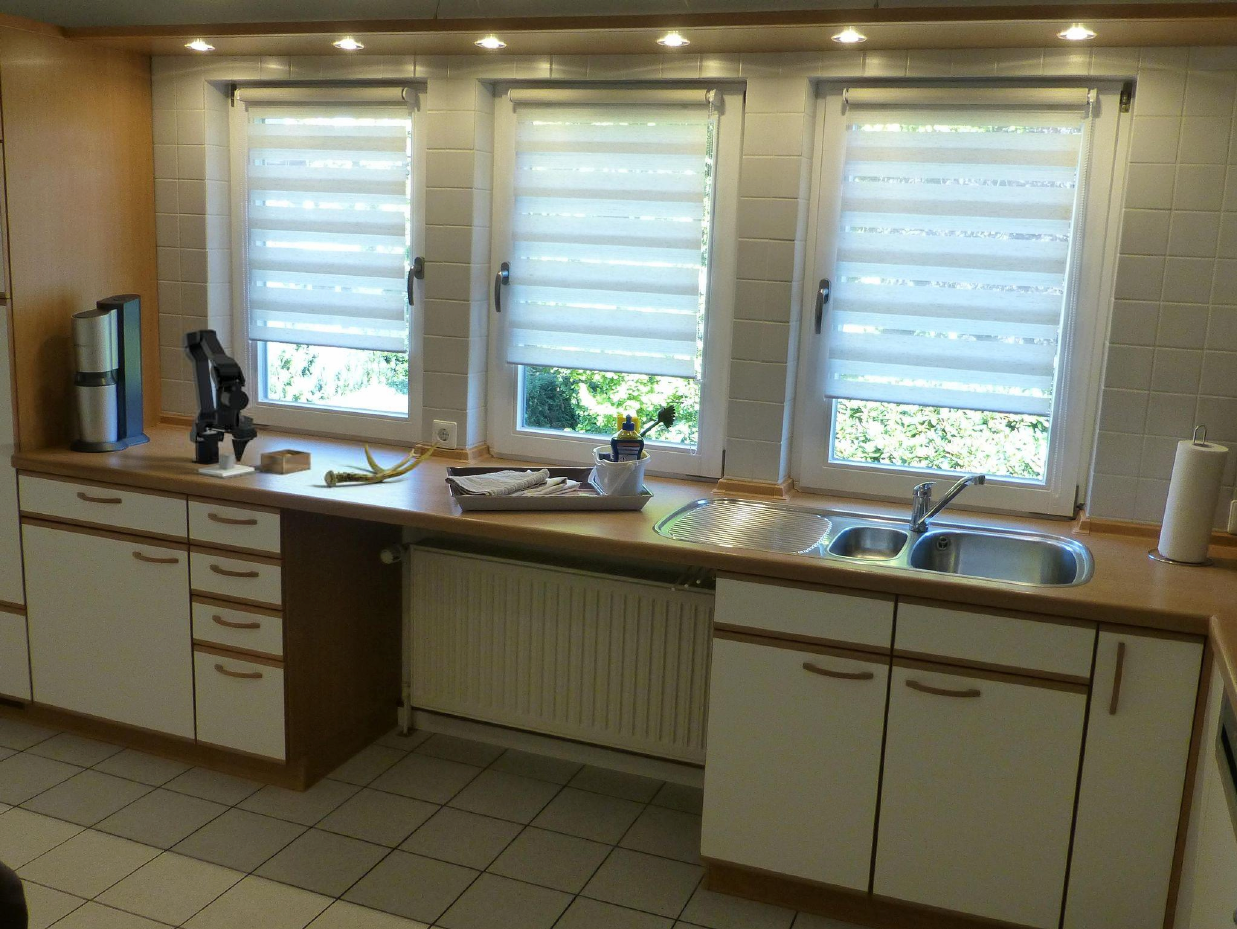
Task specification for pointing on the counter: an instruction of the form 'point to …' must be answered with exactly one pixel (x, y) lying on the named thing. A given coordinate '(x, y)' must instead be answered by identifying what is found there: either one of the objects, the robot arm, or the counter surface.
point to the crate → (285, 461)
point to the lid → (226, 467)
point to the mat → (228, 475)
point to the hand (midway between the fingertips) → (226, 459)
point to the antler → (376, 470)
